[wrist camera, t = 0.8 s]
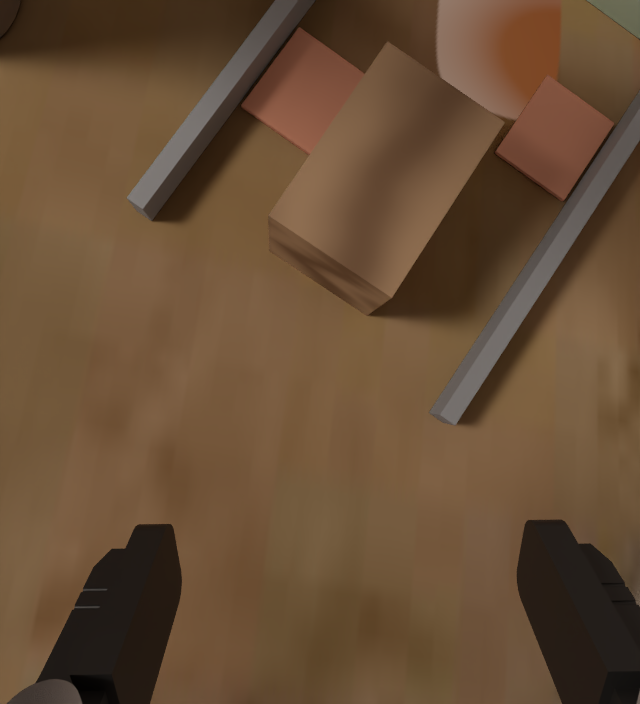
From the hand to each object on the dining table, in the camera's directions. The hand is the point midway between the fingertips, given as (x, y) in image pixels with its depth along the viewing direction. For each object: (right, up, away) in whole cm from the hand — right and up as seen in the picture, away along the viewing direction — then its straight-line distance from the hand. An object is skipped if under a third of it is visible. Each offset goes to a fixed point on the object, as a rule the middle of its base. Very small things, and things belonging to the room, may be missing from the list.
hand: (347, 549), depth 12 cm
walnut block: (+2, +14, +25) cm, 29 cm away
